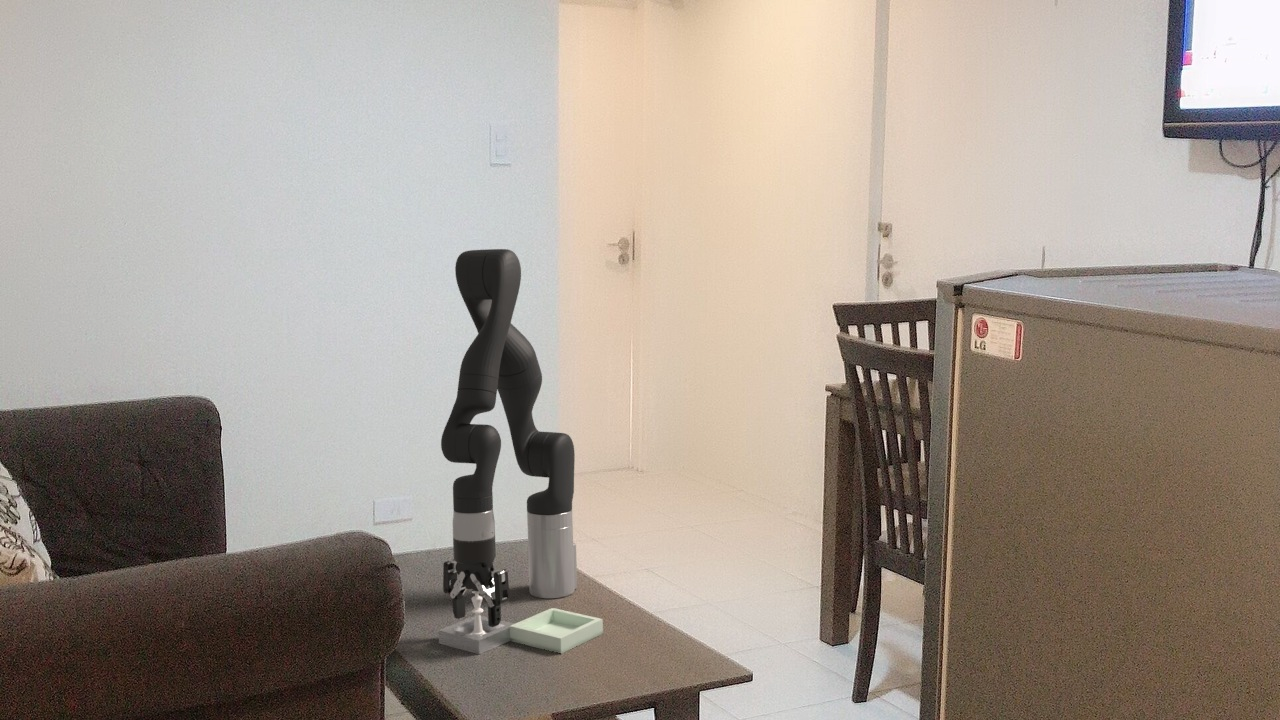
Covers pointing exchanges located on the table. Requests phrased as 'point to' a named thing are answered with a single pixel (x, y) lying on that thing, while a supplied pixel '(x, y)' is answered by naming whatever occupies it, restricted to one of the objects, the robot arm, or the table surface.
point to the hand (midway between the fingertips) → (476, 621)
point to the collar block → (463, 640)
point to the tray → (556, 630)
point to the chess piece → (477, 615)
